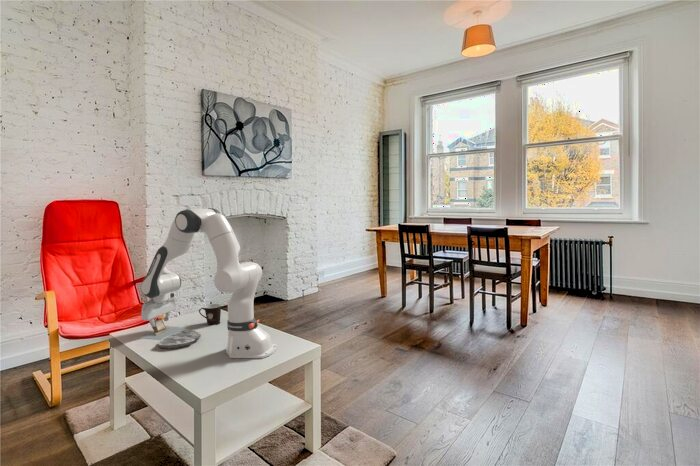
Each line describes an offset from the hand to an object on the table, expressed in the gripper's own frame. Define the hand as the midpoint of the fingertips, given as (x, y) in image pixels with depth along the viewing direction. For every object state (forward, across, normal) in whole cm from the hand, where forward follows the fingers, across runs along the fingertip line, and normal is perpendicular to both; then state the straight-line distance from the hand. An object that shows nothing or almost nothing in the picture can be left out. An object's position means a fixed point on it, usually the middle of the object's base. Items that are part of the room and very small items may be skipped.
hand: (160, 323), depth 189 cm
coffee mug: (+5, +19, -17) cm, 26 cm away
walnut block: (+4, 0, 0) cm, 4 cm away
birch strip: (+5, 0, -1) cm, 5 cm away
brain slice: (+6, -9, -20) cm, 22 cm away
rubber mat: (+5, 0, -2) cm, 5 cm away
